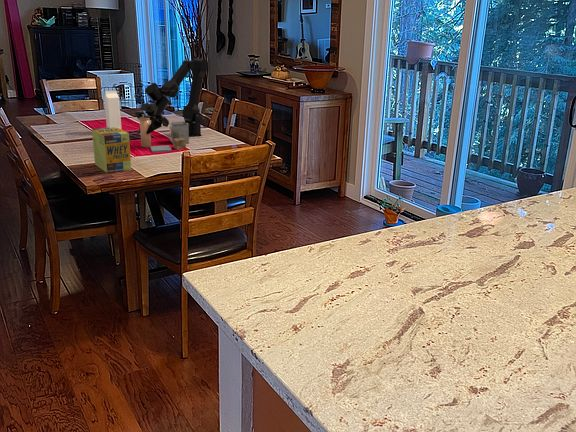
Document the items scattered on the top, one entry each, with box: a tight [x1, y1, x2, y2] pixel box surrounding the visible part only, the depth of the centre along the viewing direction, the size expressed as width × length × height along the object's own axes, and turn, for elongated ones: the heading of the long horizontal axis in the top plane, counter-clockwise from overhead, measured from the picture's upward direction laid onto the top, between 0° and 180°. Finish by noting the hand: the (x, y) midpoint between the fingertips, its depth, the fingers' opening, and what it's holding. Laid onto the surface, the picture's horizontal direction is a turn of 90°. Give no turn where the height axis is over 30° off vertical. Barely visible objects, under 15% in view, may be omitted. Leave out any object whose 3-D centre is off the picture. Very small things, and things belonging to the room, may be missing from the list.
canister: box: [138, 117, 152, 148], centre depth 267 cm, size 5×5×14 cm
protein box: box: [91, 127, 132, 174], centre depth 231 cm, size 10×15×16 cm
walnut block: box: [172, 138, 187, 151], centre depth 267 cm, size 4×4×4 cm
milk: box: [103, 89, 122, 130], centre depth 291 cm, size 6×6×22 cm
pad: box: [149, 144, 173, 153], centre depth 264 cm, size 9×9×1 cm
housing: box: [168, 121, 190, 145], centre depth 278 cm, size 8×8×10 cm
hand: (143, 133), depth 266 cm, fingers closed on canister, 5 cm apart
